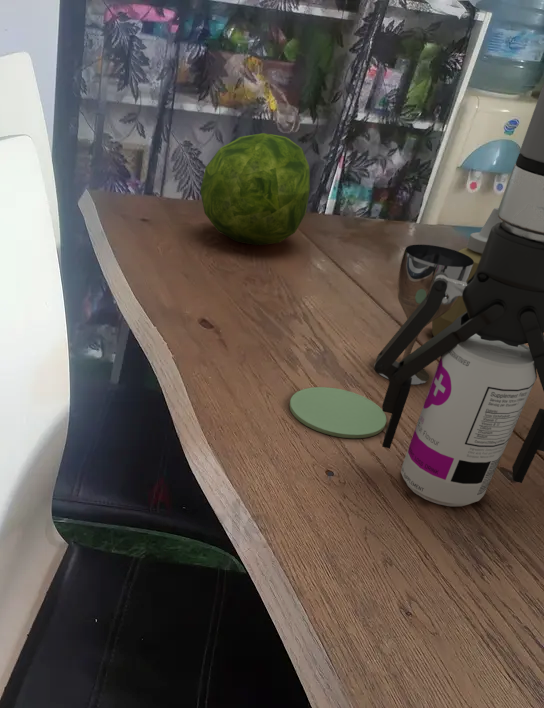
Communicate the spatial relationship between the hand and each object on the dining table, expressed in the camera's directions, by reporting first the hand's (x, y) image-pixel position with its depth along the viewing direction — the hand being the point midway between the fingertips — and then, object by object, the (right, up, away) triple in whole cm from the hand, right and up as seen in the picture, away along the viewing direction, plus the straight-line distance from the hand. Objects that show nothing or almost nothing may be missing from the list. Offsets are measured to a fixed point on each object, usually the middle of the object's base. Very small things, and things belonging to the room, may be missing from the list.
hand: (450, 458), depth 72 cm
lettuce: (-12, +45, +64) cm, 80 cm away
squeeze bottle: (+14, +20, +35) cm, 42 cm away
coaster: (-8, +6, +12) cm, 16 cm away
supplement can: (0, -3, +2) cm, 4 cm away
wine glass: (+3, +13, +24) cm, 27 cm away
